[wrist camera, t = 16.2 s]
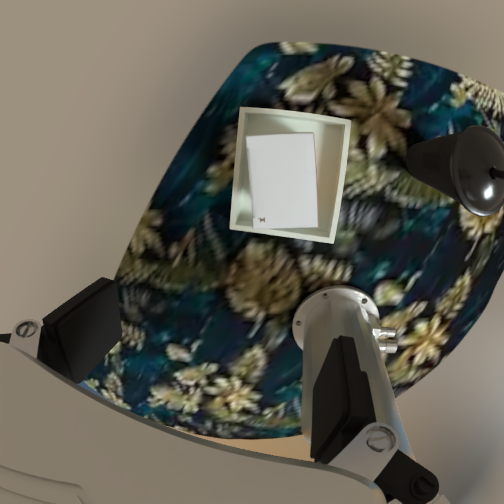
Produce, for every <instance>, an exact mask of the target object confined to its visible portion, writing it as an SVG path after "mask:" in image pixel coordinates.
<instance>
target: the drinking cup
mask: <svg viewBox="0 0 504 504" xmlns="http://www.w3.org/2000/svg"><path fill="white" fill-rule="evenodd" d="M406 166H407V169H408V171H409V173H410V174H411V175H412V176H413V177H414V178H416V179H417V180H419V181H421V182H423V183H425V184H427V185H429V186H431V187H433V188H435V189H437V190H439V191H440V192H442V193H444V194H446V195H448V196H449V197H451V198H453V199H455V200H456V201H458V202H460V203H461V204H462V205H463V206H464V208H466V209H467V210H468V211H469V212H471V213H473V214H475V215H477V216H490V215H492V214H494V213H496V212H497V211H498V210H499V209H500V208H501V207H502V206H503V204H504V144H503V142H502V141H501V139H500V138H499V137H498V136H497V134H495V133H494V132H493V131H492V130H490V129H489V128H487V127H484V126H471V127H468V128H466V129H464V130H463V131H462V132H458V133H454V134H450V135H446V136H442V137H438V138H434V139H431V140H427V141H423V142H419V143H416V144H414V145H412V146H411V147H410V148H409V149H408V151H407V154H406Z"/></svg>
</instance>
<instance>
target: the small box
mask: <svg viewBox="0 0 504 504" xmlns="http://www.w3.org/2000/svg"><path fill="white" fill-rule="evenodd" d="M245 142H246V149H247V157H248V169H249V181H250V193H251V207H252V229H275V228H308V227H318V226H319V222H318V186H317V166H316V152H315V138H314V133H313V132H292V133H271V134H257V135H247V136H245Z"/></svg>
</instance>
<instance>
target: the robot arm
mask: <svg viewBox="0 0 504 504" xmlns="http://www.w3.org/2000/svg"><path fill="white" fill-rule="evenodd" d="M324 293H327V294H324ZM42 320H43V324H44V325H43V326H42V327H41V325H40V323H39V322H38V321H36V320H33V319H27V320H23V321H20V322H19V323H17V324H16V325H15V327H14V329H13V331H12V333H10V334H0V504H450V503H449V502H448V500H447V499H446V497H445V496H444V495H442V496H439V494H438V491H439V483H438V480H437V478H436V476H435V475H434V474H433V473H431V472H430V471H428V470H427V469H425V468H424V467H423V466H421V465H420V464H418V463H417V462H416V460H415V457H414V455H413V453H412V450H411V447H410V445H409V442H408V439H407V436H406V434H405V431H404V428H403V424H402V421H401V417H400V414H399V411H398V408H397V404H396V400H395V397H394V393H393V390H392V386H391V383H390V380H389V376H388V373H387V370H386V366H385V363H384V360H383V357H382V354H381V352H383V353H395V352H396V350H397V341H396V340H379V339H378V338H379V337H380V336H385V337H394V336H395V332H396V330H395V328H393V327H381V325H379V313H378V309H377V307H376V304H375V303H374V301H373V300H372V298H371V297H370V296H369V295H368V294H367V293H366V292H364V291H362V290H360V289H358V288H355V287H352V286H346V285H334V286H329V287H325V288H322V289H320V290H317V291H316V292H314V293H312V294H311V295H309V296H308V297H307V298H306V299H304V300H303V301H302V303H301V304H300V305H299V306H298V308H297V310H296V312H295V314H294V318H293V325H292V329H293V336H294V339H295V341H296V343H297V344H298V346H299V347H300V348H301V349H302V350H303V381H302V407H301V427H302V431H303V434H304V437H305V438H306V440H307V441H308V443H309V444H310V445H311V451H310V457H311V458H314V459H315V460H314V462H310V461H304V460H298V459H292V458H285V457H279V456H273V455H268V454H263V453H258V452H253V451H249V450H244V449H240V448H235V447H231V446H227V445H223V444H220V443H216V442H212V441H208V440H205V439H201V438H198V437H195V436H192V435H189V434H186V433H183V432H180V431H177V430H174V429H172V428H169V427H166V426H164V425H161V424H158V423H156V422H153V421H151V420H148V419H146V418H143V417H141V416H139V415H136V414H134V413H132V412H130V411H127V410H125V409H123V408H121V407H119V406H117V405H115V404H113V403H111V402H109V401H107V400H105V399H103V398H101V397H99V396H97V395H95V394H93V393H91V392H90V391H88V390H86V389H84V388H82V387H81V386H79V385H77V383H81V382H82V381H83V380H84V379H85V377H86V376H87V375H88V374H89V373H90V372H91V371H92V370H93V369H94V367H95V366H96V365H97V364H98V363H99V362H100V361H101V360H102V359H103V358H104V357H105V355H106V354H107V353H108V352H109V351H110V350H111V349H112V348H113V347H114V346H115V345H116V344H117V343H118V341H119V340H120V339H121V337H122V327H121V319H120V311H119V301H118V291H117V286H116V285H115V282H114V281H113V280H110V279H107V278H104V277H102V278H100V279H98V280H97V281H96V282H94V283H92V284H91V285H89V286H88V287H87V288H85V289H84V290H82V291H81V292H79V293H78V294H76V295H75V296H74V297H72V298H71V299H69V300H68V301H66V302H65V303H64V304H62V305H61V306H59V307H58V308H57V309H55V310H54V311H53V312H51V313H50V314H48V315H47V316H46V317H44V318H43V319H42Z"/></svg>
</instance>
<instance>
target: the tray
mask: <svg viewBox="0 0 504 504" xmlns="http://www.w3.org/2000/svg"><path fill="white" fill-rule="evenodd" d="M350 128H351V120H347V119H342V118H336V117H331V116H325V115H318V114H311V113H304V112H296V111H287V110H277V109H266V108H251V107H240V112H239V122H238V133H237V144H236V155H235V166H234V178H233V191H232V204H231V217H230V229H232V230H240V231H248V232H255V233H262V234H270V235H277V236H284V237H291V238H298V239H305V240H312V241H319V242H325V243H332V244H334V239H335V234H336V228H337V223H338V217H339V211H340V205H341V199H342V192H343V186H344V179H345V171H346V164H347V156H348V147H349V138H350ZM292 132H313V133H314V138H315V152H316V166H317V186H318V222H319V226H318V227H308V228H275V229H252V207H251V193H250V181H249V169H248V157H247V149H246V142H245V136H247V135H257V134H271V133H292Z"/></svg>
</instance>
